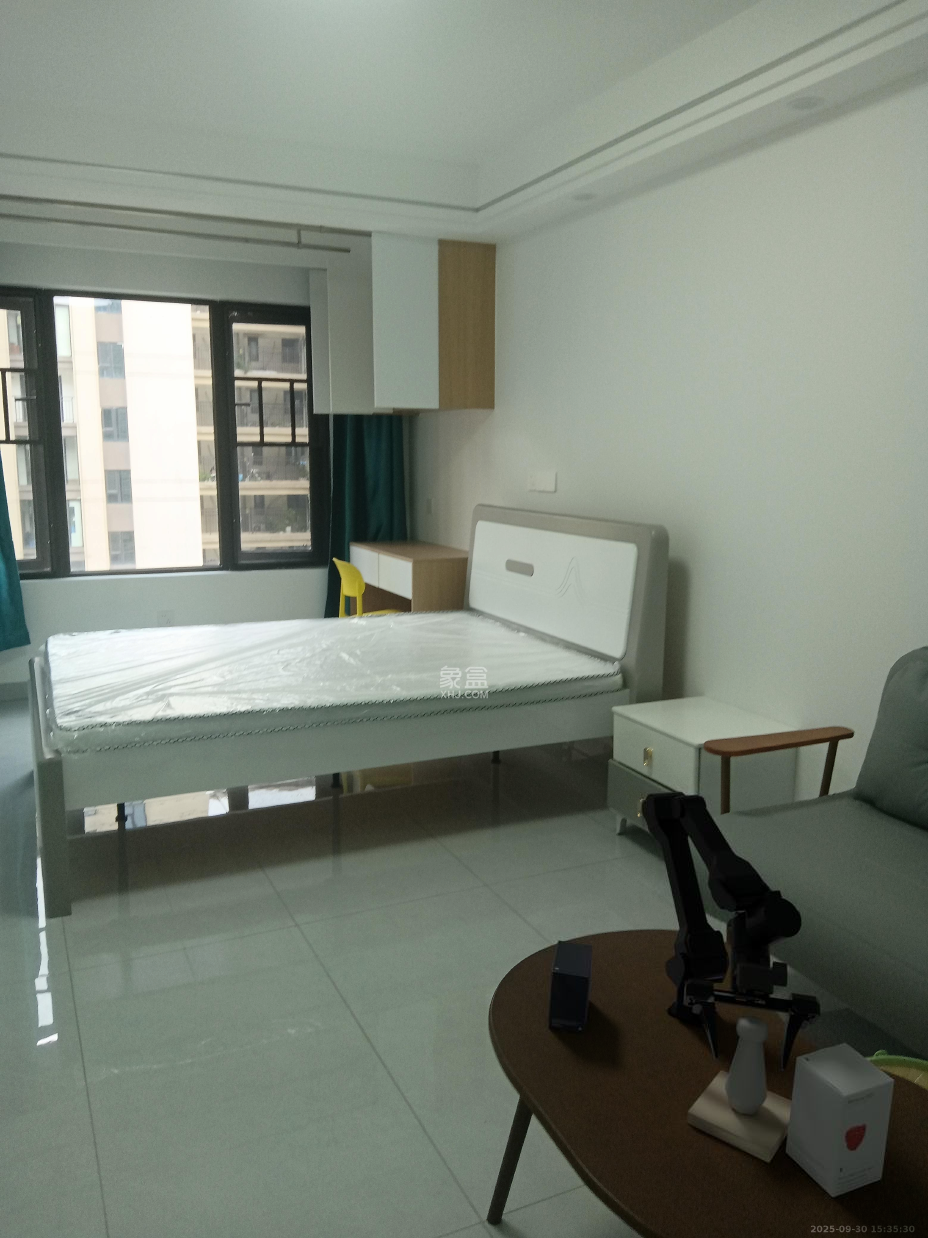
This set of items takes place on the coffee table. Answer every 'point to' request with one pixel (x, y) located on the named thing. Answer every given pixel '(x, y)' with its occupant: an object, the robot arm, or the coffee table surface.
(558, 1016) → the small box
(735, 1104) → the salt shaker
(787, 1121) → the oak block
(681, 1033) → the coffee table surface
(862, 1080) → the supplement box
